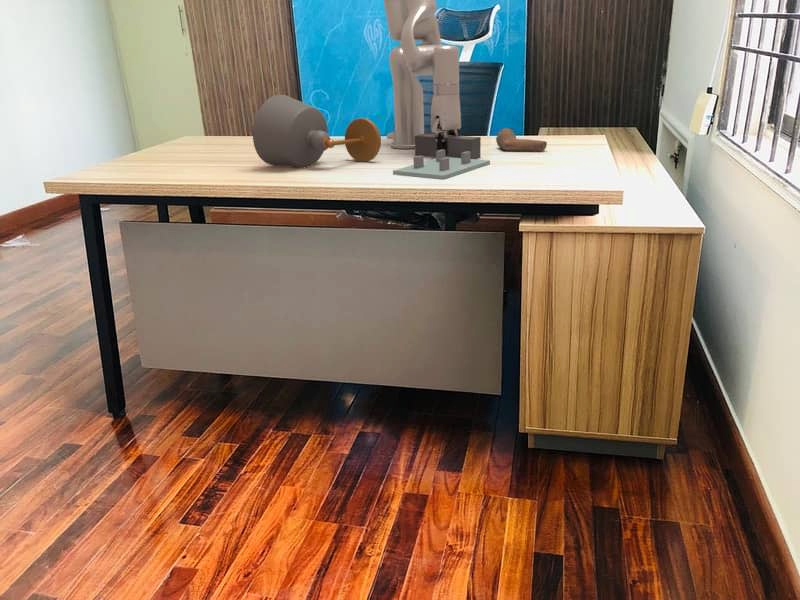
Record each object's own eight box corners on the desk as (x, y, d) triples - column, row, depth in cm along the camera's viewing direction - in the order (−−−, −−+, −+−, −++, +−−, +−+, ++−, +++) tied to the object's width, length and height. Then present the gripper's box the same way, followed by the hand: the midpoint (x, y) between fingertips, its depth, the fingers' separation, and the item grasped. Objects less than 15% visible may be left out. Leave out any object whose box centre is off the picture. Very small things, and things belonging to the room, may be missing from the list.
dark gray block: (415, 155, 214) (414, 135, 212) (424, 153, 217) (423, 133, 215) (471, 160, 202) (471, 138, 200) (480, 157, 206) (480, 136, 204)
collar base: (393, 174, 187) (392, 159, 185) (441, 160, 205) (441, 146, 203) (443, 179, 178) (443, 163, 176) (489, 164, 196) (490, 149, 194)
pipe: (545, 137, 208) (550, 127, 216) (490, 136, 213) (497, 126, 221) (545, 158, 211) (550, 147, 219) (491, 156, 217) (497, 146, 225)
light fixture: (252, 94, 193) (326, 111, 179) (314, 93, 213) (384, 108, 199) (250, 167, 200) (320, 189, 187) (309, 160, 220) (377, 178, 207)
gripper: (450, 88, 212) (451, 148, 218) (419, 92, 199) (421, 157, 205) (472, 88, 208) (472, 150, 214) (441, 93, 195) (442, 158, 201)
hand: (447, 153), depth 210 cm, fingers closed on dark gray block, 5 cm apart
